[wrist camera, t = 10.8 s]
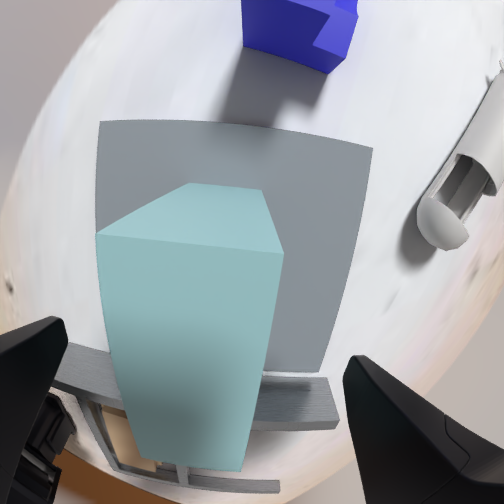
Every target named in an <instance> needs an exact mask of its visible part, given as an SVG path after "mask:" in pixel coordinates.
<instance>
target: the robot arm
mask: <svg viewBox="0 0 504 504" xmlns="http://www.w3.org/2000/svg"><path fill="white" fill-rule="evenodd" d="M67 346H68V337H67V333H66V329H65V325H64V321H63V320H62V319H61V318H59V317H55V316H49V317H47V318H44V319H41V320H39V321H36V322H34V323H31V324H28V325H26V326H23V327H20V328H18V329H15V330H12V331H10V332H7V333H5V334H2V335H0V504H53V502H54V498H55V494H56V490H57V486H58V482H59V479H60V475H61V471H62V469H60V468H59V467H56V466H55V465H53V464H52V462H53V460H54V458H55V456H56V454H58V455H60V454H61V452H62V450H63V448H64V446H65V444H66V442H67V440H68V438H69V435H70V434H73V435H74V434H75V433H76V431H75V429H74V427H73V425H72V423H71V421H70V420H69V418H68V416H67V414H66V412H65V410H64V408H63V406H62V404H61V401H60V399H59V398H58V397H57V396H55V395H53V394H50V393H48V391H49V389H50V387H51V385H52V383H53V381H54V378H55V376H56V373H57V371H58V368H59V366H60V363H61V361H62V358H63V356H64V353H65V351H66V348H67ZM343 388H344V395H345V403H346V411H347V418H348V424H349V429H350V433H351V437H352V441H353V445H354V449H355V454H356V458H357V463H358V467H359V471H360V476H361V481H362V485H363V490H364V495H365V500H366V504H504V449H502V448H500V447H498V446H497V445H495V444H493V443H491V442H489V441H487V440H486V439H484V438H482V437H480V436H479V435H477V434H475V433H473V432H472V431H470V430H468V429H467V428H465V427H464V426H462V425H461V424H459V423H458V422H456V421H455V420H453V419H452V418H451V417H449V416H448V415H446V414H445V415H444V413H443V412H442V411H441V410H439V409H437V408H436V407H435V406H434V405H432V404H431V403H429V402H428V401H426V400H425V399H424V398H423V397H421V396H420V395H418V394H417V393H416V392H414V391H413V390H411V389H410V388H409V387H407V386H406V385H405V384H403V383H402V382H400V381H399V380H398V379H396V378H395V377H394V376H392V375H391V374H389V373H388V372H387V371H385V370H384V369H383V368H381V367H380V366H379V365H377V364H376V363H375V362H373V361H372V360H370V359H369V358H368V357H366V356H364V355H354V356H352V357H351V358H350V360H349V363H348V365H347V367H346V370H345V372H344V375H343Z"/></svg>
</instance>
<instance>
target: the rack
mask: <svg viewBox="0 0 504 504" xmlns="http://www.w3.org/2000/svg"><path fill="white" fill-rule="evenodd" d="M51 387H54V388H56V389H59V390H61V391H64V392H67V393H69V394H72V395H75V396H76V398H77V400H78V403H79V405H80V407H81V410H82V412H83V414H84V416H85V418H86V421H87V423H88V425H89V427H90V429H91V431H92V433H93V435H94V437H95V439H96V441H97V442H98V444H99V446H100V448H101V450H102V452H103V453H104V455H105V457H106V459H107V460H108V462H109V464H110V466H111V467H112V469H113V470H114V471H117V472H120V473H124V474H127V475H131V476H135V477H138V478H142V479H146V480H151V481H155V482H160V483H165V484H170V485H175V486H181V487H187V488H194V489H202V490H210V491H220V492H234V493H279V492H280V481H279V480H240V479H225V478H214V477H205V476H198V475H191V474H190V470H189V467H188V466H181V465H176V469H177V472H172V471H167V470H162V469H157V468H156V472H152V471H148V470H144V469H141V468H137V467H133V466H130V465H126V464H123V463H120V462H119V460H118V458H117V455H116V452H115V450H114V447H113V444H112V441H111V439H110V436H109V433H108V430H107V427H106V424H105V420H104V418H103V415H102V413H101V410H100V407H99V405H98V403H100V404H103V405H106V406H110V407H113V408H117V409H121V410H125V409H124V405H123V402H122V398H121V395H120V391H119V387H118V383H117V380H116V375H115V371H114V367H113V363H112V358H111V354H110V353H108V352H104V351H100V350H96V349H92V348H88V347H84V346H81V345H77V344H74V343H70V342H69V343H68V346H67V348H66V351H65V353H64V356H63V358H62V361H61V363H60V366H59V368H58V371H57V373H56V376H55V378H54V381H53V383H52V385H51ZM339 421H340V419H339V415H338V412H337V409H336V405H335V402H334V399H333V396H332V392H331V389H330V386H329V383H328V379H327V378H301V377H274V376H262V378H261V383H260V388H259V393H258V397H257V402H256V407H255V412H254V416H253V421H252V425H251V430H263V431H311V430H330V429H335V428H336V426H337V425H338V423H339Z"/></svg>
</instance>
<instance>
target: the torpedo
mask: <svg viewBox="0 0 504 504" xmlns="http://www.w3.org/2000/svg"><path fill="white" fill-rule="evenodd" d="M499 62H500V66H501V68H502V70H501V71H500V73H499V74H498V75H496V76H495V78H494V80H493V82H492V84H491V86H490V88H489V90H488V92H487V94H486V96H485V98H484V100H483V102H482V104H481V105H480V107H479V109H478V111H477V113H476V114H475V116H474V118H473V120H472V121H471V123H470V125H469V127H468V128H467V130H466V132H465V133H464V135H463V137H462V138H461V140H460V141H459V143H458V145H457V146H456V148H455V149H454V151H453V153H452V154H451V156H450V157H449V159H448V160H447V162H446V163H445V165H444V166H443V168H442V169H441V171H440V172H439V174H438V175H437V177H436V178H435V180H434V181H433V182H432V184H431V185H430V187H429V188H428V190H427V191H426V192H425V194H424V195H423V197H422V198H421V201H420V203H419V205H418V208H417V226H418V228H419V230H420V232H421V234H422V236H423V237H424V238H425V239H426V240H427V242H428V243H430V244H431V245H433V246H435V247H437V248H440V249H442V250H445V251H448V250H452V249H457V248H459V247H460V246H461V245H462V244H463V243H464V242H466V241H467V239H468V238H469V234H468V232H467V230H466V228H465V227H464V225H463V224H464V223H465V221H466V220H467V218H468V217H469V215H470V213H471V212H472V210H473V209H474V207H475V206H476V204H477V202H478V201H479V199H480V197H481V196H482V194H484V195H487V196H496V194H497V192H498V190H499V189H500V187H501V185H502V183H503V181H504V64H503V62H502V61H501V60H500V61H499ZM462 154H463V155H466V156H469V157H471V158H472V161H473V165H472V167H471V168H470V170H469V172H468V173H467V175H466V177H465V178H464V180H463V181H462V183H461V185H460V186H459V188H458V189H457V191H456V192H455V194H454V195H453V197H452V198H451V200H450V201H449V203H448V204H447V206H445V205H444V204H443V203H441V202H439V201H437V200H435V199H433V198H434V196H435V195H436V193H437V192H438V190H439V189H440V188H441V186H442V185H443V183H444V182H445V180H446V179H447V177H448V176H449V174H450V173H451V171H452V170H453V168H454V166H455V165H456V163H457V162H458V160H459V159H460V157H461V155H462Z"/></svg>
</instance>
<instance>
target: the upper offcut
mask: <svg viewBox="0 0 504 504" xmlns="http://www.w3.org/2000/svg"><path fill="white" fill-rule="evenodd" d="M102 414H103V417H104V420H105V424H106V427H107V430H108V433H109V436H110V439H111V441H112V444H113V447H114V450H115V452H116V455H117V458H118V460H119V462H120V463H123V464H126V465H130V466H133V467H137V468H141V469H144V470H148V471H152V472H156V468H157V461H155V460H150V459H146V458H142V457H141V455H140V453H139V450H138V447H137V445H136V442H135V439H134V436H133V433H132V430H131V427H130V424H129V421H128V418H127V415H126V412H125V410H121V409H117V408H113V407H110V406H106V405H104V407H103V409H102Z"/></svg>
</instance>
